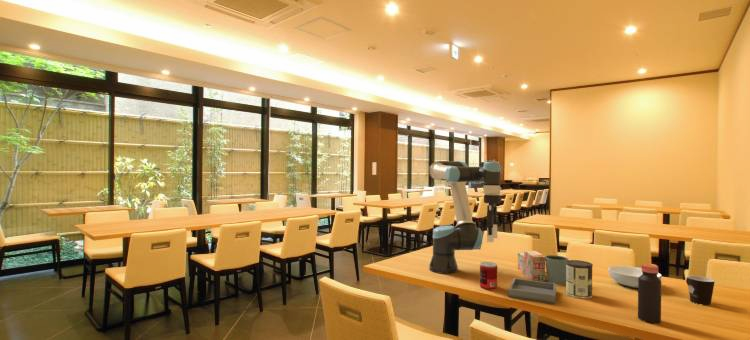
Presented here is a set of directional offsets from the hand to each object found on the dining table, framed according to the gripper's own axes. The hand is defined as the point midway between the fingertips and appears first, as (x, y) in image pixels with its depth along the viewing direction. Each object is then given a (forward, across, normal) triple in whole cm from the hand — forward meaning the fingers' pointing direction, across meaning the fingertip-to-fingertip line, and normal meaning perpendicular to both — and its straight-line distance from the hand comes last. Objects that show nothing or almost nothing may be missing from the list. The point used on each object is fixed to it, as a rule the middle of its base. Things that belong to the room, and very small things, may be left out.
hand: (492, 240), depth 173 cm
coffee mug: (+23, +19, -81) cm, 86 cm away
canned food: (+22, -2, +2) cm, 22 cm away
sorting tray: (+22, -2, -17) cm, 28 cm away
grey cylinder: (+22, +22, -27) cm, 41 cm away
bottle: (+24, -14, -57) cm, 63 cm away
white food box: (+21, +30, -15) cm, 40 cm away
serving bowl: (+22, +33, -61) cm, 72 cm away
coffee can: (+22, +6, -36) cm, 43 cm away
